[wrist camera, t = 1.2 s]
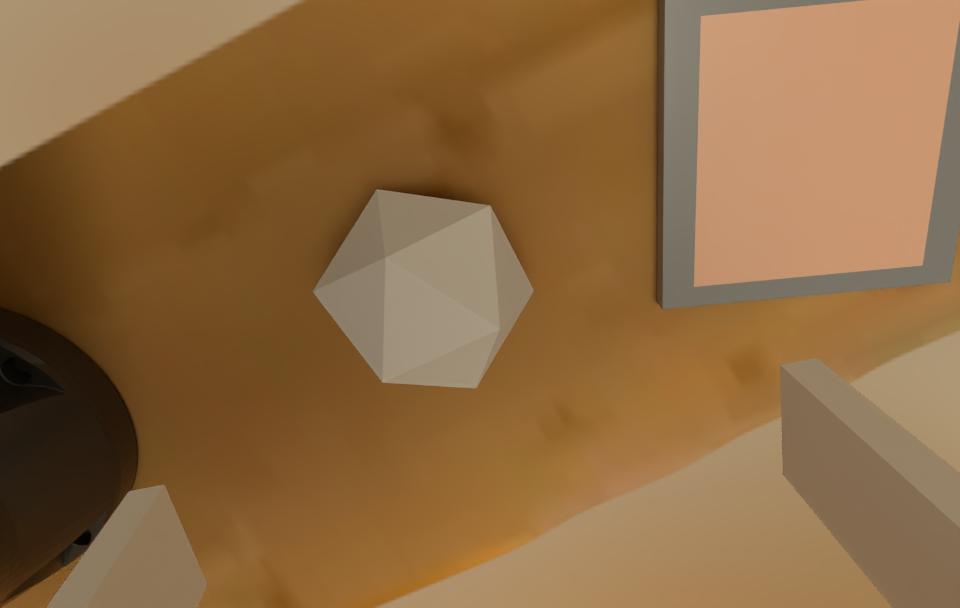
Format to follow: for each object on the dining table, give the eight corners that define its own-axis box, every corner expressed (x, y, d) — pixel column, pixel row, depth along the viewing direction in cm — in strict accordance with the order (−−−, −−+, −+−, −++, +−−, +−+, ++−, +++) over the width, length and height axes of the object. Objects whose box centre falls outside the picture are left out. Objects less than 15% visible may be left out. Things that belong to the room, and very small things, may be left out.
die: (350, 159, 31) (241, 316, 25) (513, 129, 27) (426, 311, 21) (428, 279, 36) (352, 431, 31) (575, 271, 32) (518, 446, 26)
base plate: (656, 302, 33) (662, 309, 32) (658, -5, 28) (664, -7, 27) (936, 275, 33) (950, 282, 32) (986, -37, 28) (1004, -40, 27)
